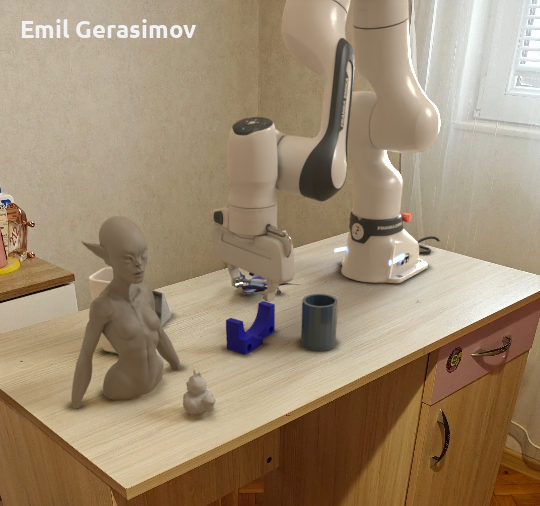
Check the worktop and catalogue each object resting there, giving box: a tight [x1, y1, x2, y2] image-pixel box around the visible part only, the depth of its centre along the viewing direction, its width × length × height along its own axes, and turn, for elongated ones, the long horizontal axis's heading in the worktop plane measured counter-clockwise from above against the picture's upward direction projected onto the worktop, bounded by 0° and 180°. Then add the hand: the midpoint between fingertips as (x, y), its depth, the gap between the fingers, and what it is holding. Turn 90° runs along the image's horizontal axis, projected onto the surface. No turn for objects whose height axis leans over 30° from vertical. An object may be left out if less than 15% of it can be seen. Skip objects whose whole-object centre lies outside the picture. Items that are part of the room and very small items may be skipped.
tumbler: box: [300, 293, 339, 352], centre depth 140 cm, size 7×7×9 cm
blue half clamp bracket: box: [225, 300, 276, 356], centre depth 142 cm, size 12×4×6 cm, turn 145°
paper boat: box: [151, 289, 173, 327], centre depth 151 cm, size 12×6×9 cm
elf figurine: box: [70, 215, 182, 409], centre depth 118 cm, size 23×10×30 cm, turn 133°
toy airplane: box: [239, 270, 300, 296], centre depth 164 cm, size 13×14×4 cm
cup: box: [88, 266, 118, 355], centre depth 136 cm, size 7×7×15 cm
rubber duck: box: [182, 369, 217, 416], centre depth 118 cm, size 5×7×8 cm
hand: (252, 293), depth 138 cm, fingers open, 8 cm apart
